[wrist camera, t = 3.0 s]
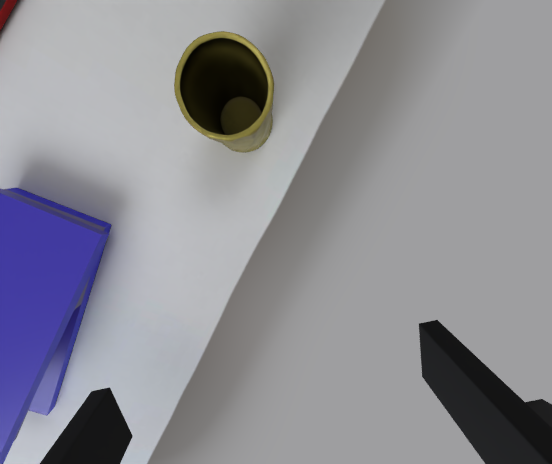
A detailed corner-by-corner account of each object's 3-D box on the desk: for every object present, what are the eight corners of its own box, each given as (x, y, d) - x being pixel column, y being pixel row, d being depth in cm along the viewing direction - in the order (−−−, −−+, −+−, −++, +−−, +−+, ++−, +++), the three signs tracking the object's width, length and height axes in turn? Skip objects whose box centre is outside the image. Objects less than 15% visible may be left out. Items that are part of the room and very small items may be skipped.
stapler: (-31, 383, 35) (-141, 468, 25) (11, 179, 28) (-114, 192, 19) (62, 408, 36) (-8, 497, 27) (121, 223, 30) (57, 253, 21)
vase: (207, 144, 28) (157, 133, 15) (218, 80, 27) (173, 2, 13) (264, 158, 29) (267, 161, 15) (278, 97, 28) (295, 40, 14)
